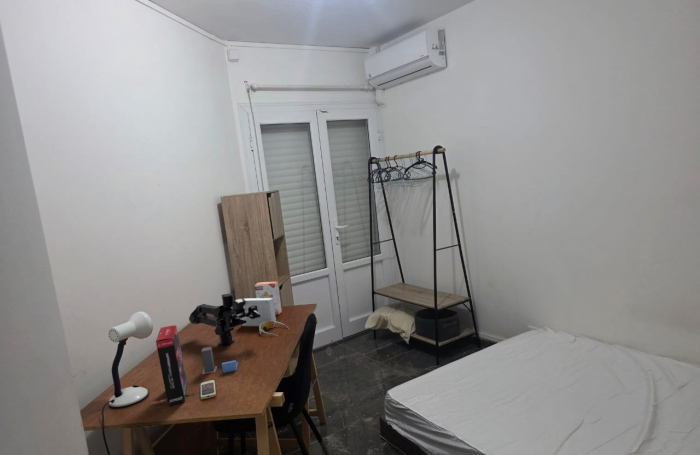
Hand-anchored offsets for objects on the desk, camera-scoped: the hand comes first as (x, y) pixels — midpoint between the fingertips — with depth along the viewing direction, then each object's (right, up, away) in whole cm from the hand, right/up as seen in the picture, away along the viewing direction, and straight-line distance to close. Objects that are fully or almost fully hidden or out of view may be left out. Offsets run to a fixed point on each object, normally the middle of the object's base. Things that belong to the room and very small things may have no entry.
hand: (253, 318), depth 202 cm
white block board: (-11, -20, -16) cm, 28 cm away
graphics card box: (-23, -24, -36) cm, 49 cm away
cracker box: (-3, -11, +60) cm, 62 cm away
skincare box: (-6, -13, +42) cm, 44 cm away
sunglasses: (+5, -14, +28) cm, 31 cm away
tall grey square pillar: (-16, -20, -17) cm, 31 cm away
